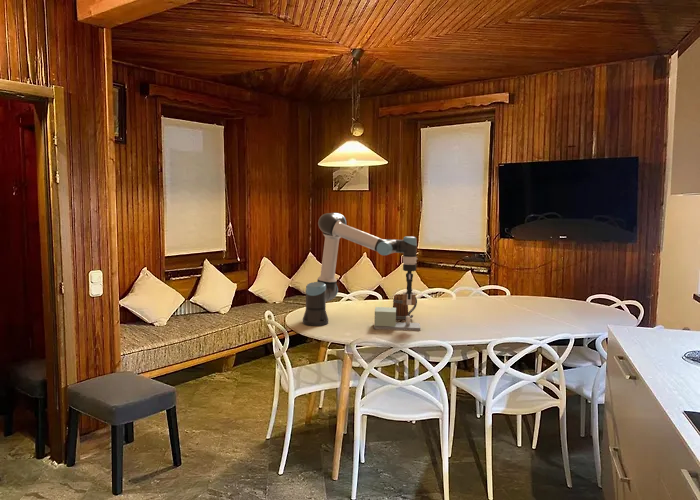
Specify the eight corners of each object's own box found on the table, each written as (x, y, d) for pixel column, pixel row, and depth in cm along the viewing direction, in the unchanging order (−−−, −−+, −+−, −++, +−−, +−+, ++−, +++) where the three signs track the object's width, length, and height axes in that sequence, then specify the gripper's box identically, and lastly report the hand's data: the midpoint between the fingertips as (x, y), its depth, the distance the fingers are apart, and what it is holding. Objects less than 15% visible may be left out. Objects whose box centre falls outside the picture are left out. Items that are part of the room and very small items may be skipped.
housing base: (374, 328, 312) (374, 317, 311) (375, 323, 324) (375, 312, 323) (420, 330, 310) (420, 319, 309) (419, 325, 321) (420, 314, 321)
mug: (394, 321, 330) (394, 297, 328) (389, 317, 340) (390, 293, 339) (418, 320, 333) (419, 296, 331) (413, 317, 343) (414, 293, 342)
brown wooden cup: (402, 304, 311) (403, 294, 311) (402, 302, 318) (403, 292, 318) (415, 305, 311) (415, 294, 310) (415, 302, 318) (415, 292, 317)
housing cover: (374, 325, 312) (374, 311, 311) (375, 320, 324) (375, 306, 323) (395, 326, 311) (395, 312, 310) (395, 321, 322) (396, 307, 322)
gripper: (416, 266, 302) (416, 307, 304) (415, 261, 322) (415, 300, 324) (403, 265, 303) (402, 306, 305) (402, 261, 322) (402, 300, 325)
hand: (408, 303), depth 314 cm, fingers closed on brown wooden cup, 7 cm apart
